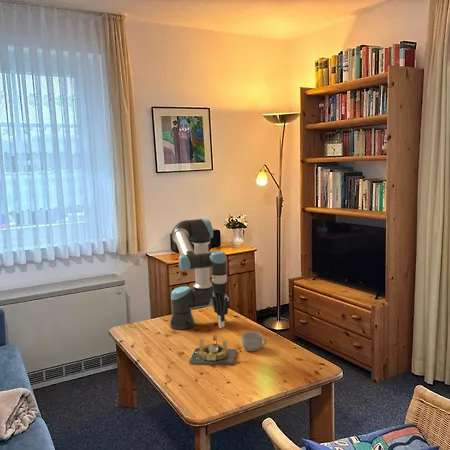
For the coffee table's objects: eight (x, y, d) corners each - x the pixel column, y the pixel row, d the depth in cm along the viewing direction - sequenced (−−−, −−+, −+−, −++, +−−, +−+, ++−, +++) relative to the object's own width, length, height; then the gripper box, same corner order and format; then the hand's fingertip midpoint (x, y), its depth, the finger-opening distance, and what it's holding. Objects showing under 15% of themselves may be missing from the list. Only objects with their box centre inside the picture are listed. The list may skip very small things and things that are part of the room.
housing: (195, 350, 254) (195, 340, 253) (237, 351, 250) (236, 341, 250) (189, 364, 238) (188, 353, 237) (233, 365, 235) (232, 354, 234)
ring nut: (202, 348, 252) (201, 334, 251) (229, 348, 250) (228, 335, 249) (197, 360, 238) (196, 345, 237) (225, 360, 236) (225, 346, 235)
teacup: (237, 349, 253) (237, 335, 252) (251, 343, 261) (250, 329, 259) (258, 356, 243) (258, 341, 242) (271, 349, 251) (271, 335, 250)
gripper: (205, 281, 245) (207, 325, 248) (222, 285, 235) (224, 331, 238) (216, 278, 250) (218, 322, 253) (233, 282, 240) (235, 327, 243)
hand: (221, 326), depth 246 cm, fingers closed
